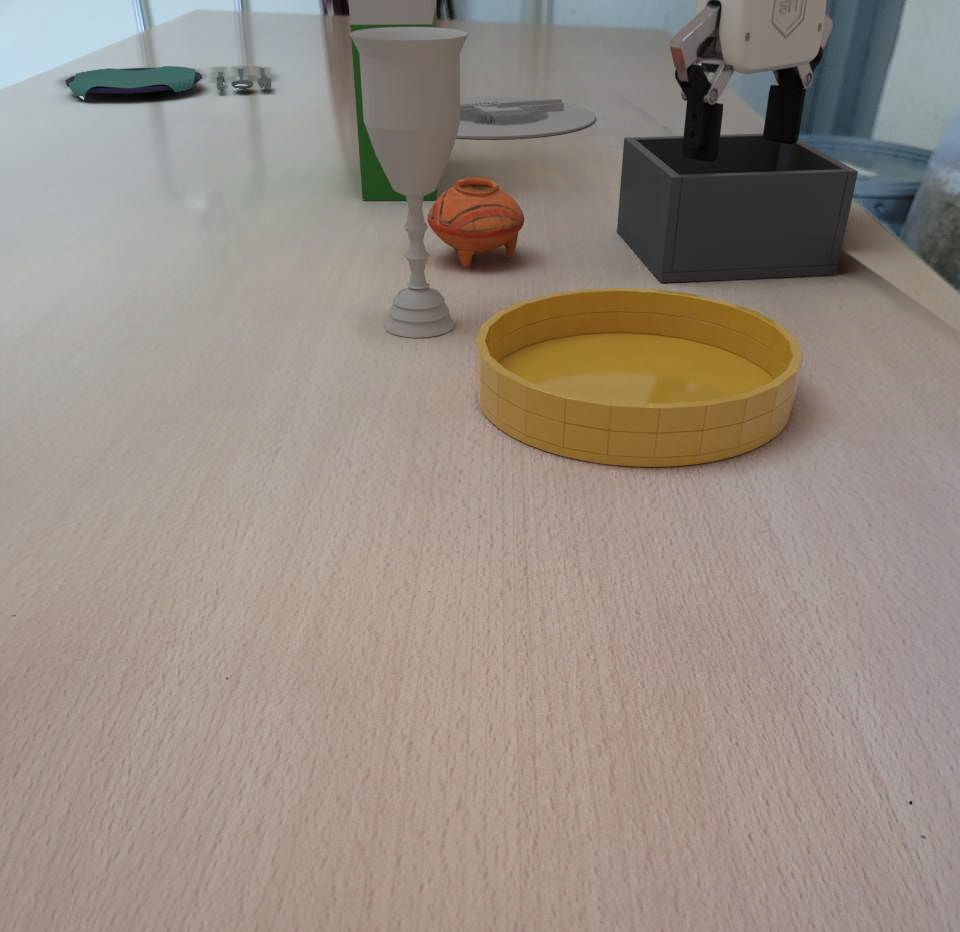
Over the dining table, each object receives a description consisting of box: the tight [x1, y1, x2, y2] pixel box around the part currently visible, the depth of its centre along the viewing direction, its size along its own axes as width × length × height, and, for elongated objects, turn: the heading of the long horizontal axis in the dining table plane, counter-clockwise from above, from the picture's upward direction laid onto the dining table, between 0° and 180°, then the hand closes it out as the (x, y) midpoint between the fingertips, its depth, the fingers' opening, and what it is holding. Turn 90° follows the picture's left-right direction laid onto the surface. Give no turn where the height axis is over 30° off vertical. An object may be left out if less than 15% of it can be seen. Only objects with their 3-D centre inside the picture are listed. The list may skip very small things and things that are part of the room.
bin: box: [616, 133, 859, 284], centre depth 83 cm, size 15×15×8 cm
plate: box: [456, 96, 596, 140], centre depth 134 cm, size 28×28×1 cm
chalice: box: [349, 27, 469, 339], centre depth 66 cm, size 7×7×18 cm
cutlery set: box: [64, 65, 273, 98], centre depth 151 cm, size 20×30×2 cm, turn 102°
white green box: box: [348, 0, 439, 201], centre depth 99 cm, size 18×7×24 cm, turn 1°
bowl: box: [474, 287, 804, 468], centre depth 61 cm, size 19×19×4 cm
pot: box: [427, 176, 525, 268], centre depth 83 cm, size 8×8×7 cm
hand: (740, 149), depth 81 cm, fingers open, 9 cm apart
